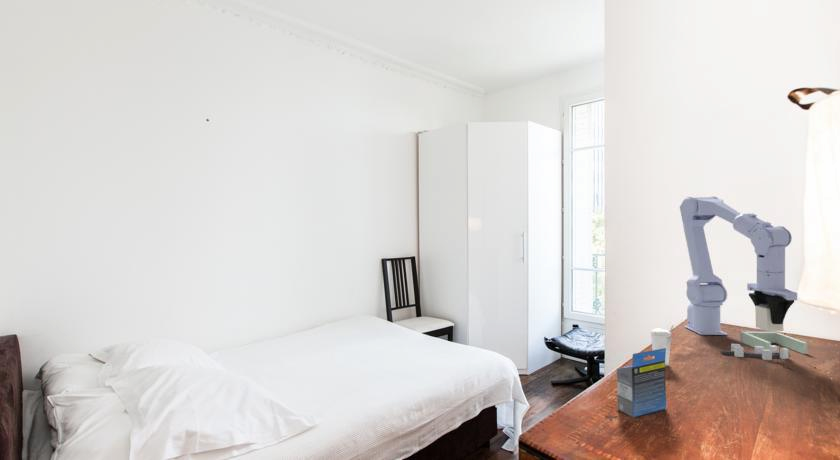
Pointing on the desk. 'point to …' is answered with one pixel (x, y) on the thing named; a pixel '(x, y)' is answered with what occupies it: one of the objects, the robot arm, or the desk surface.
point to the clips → (760, 351)
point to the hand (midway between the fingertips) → (770, 321)
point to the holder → (772, 340)
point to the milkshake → (661, 341)
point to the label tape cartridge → (642, 384)
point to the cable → (750, 354)
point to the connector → (766, 319)
